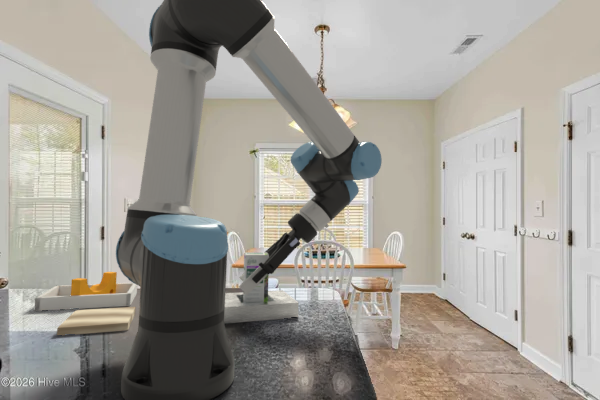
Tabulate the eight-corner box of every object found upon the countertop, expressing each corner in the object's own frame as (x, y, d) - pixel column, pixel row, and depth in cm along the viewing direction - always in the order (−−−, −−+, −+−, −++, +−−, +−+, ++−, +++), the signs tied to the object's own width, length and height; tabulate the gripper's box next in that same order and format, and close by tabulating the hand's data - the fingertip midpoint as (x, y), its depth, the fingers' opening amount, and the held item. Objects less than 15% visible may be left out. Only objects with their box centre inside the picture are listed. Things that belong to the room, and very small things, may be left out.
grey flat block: (298, 317, 79) (298, 302, 79) (219, 323, 73) (220, 307, 73) (282, 303, 91) (282, 290, 91) (214, 307, 85) (214, 293, 85)
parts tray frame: (130, 305, 85) (130, 293, 85) (34, 311, 78) (35, 298, 78) (136, 293, 98) (137, 282, 98) (55, 296, 91) (56, 285, 91)
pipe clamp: (102, 294, 94) (103, 271, 95) (115, 295, 93) (116, 272, 94) (64, 305, 83) (65, 279, 83) (79, 307, 82) (80, 280, 82)
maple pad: (127, 330, 68) (128, 322, 68) (56, 335, 64) (57, 327, 64) (135, 313, 79) (135, 306, 79) (75, 317, 75) (76, 310, 75)
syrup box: (243, 316, 79) (245, 254, 79) (242, 309, 84) (244, 251, 85) (267, 315, 80) (269, 254, 80) (264, 308, 86) (266, 251, 86)
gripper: (329, 236, 74) (255, 309, 71) (309, 230, 97) (252, 286, 93) (306, 211, 74) (230, 284, 70) (291, 211, 96) (233, 267, 93)
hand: (242, 285), depth 82 cm, fingers open, 10 cm apart
